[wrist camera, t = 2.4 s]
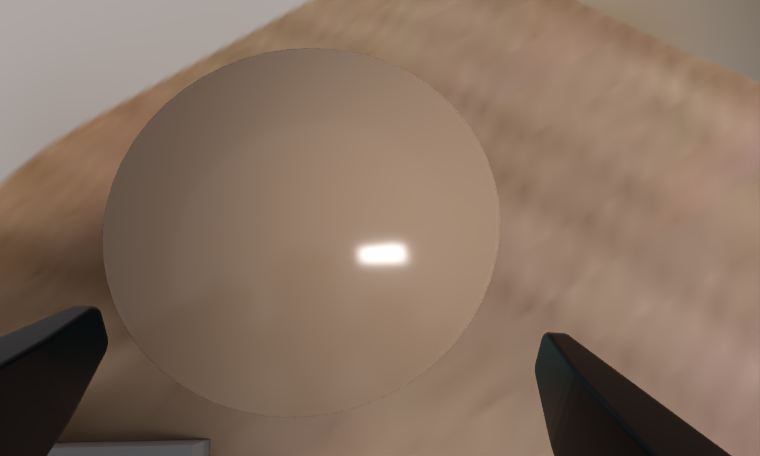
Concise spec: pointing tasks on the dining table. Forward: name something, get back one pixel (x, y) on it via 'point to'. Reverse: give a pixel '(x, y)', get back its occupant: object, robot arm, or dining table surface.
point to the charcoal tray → (133, 448)
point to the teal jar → (301, 232)
